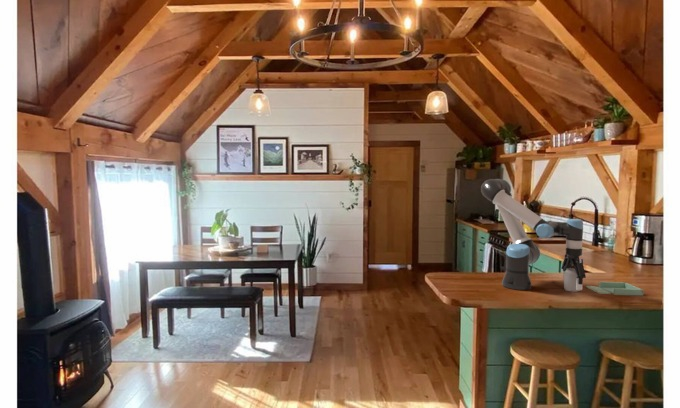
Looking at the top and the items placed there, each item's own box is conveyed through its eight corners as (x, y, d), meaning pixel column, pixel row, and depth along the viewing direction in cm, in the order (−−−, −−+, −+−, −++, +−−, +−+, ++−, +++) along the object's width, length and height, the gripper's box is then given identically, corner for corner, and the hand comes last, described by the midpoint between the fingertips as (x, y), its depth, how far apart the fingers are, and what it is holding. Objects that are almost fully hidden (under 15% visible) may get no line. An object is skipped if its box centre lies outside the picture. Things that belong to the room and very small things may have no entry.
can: (565, 288, 214) (566, 266, 213) (580, 290, 209) (582, 269, 208) (562, 291, 208) (563, 269, 207) (578, 293, 203) (579, 271, 202)
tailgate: (610, 295, 202) (598, 294, 202) (597, 288, 213) (586, 287, 213) (610, 292, 202) (598, 291, 202) (597, 286, 213) (586, 285, 213)
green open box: (614, 295, 200) (615, 289, 200) (598, 287, 214) (599, 281, 214) (642, 296, 199) (643, 289, 199) (625, 288, 213) (625, 282, 213)
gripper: (594, 252, 194) (592, 293, 196) (569, 243, 219) (567, 280, 220) (579, 252, 195) (577, 293, 196) (555, 243, 219) (554, 280, 221)
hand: (572, 286), depth 208 cm, fingers open, 13 cm apart
